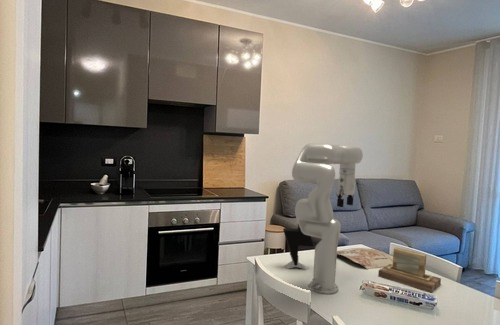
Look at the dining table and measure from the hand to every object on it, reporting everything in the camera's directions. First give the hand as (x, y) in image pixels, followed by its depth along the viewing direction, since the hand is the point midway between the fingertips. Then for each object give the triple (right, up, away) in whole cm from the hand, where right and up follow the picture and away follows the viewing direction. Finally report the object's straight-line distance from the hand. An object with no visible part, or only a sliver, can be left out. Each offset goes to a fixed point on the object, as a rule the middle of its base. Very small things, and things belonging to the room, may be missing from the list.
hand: (345, 205), depth 168 cm
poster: (+17, -34, +21) cm, 43 cm away
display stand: (+29, -35, -7) cm, 46 cm away
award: (-24, -32, +3) cm, 40 cm away
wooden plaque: (+29, -32, -7) cm, 44 cm away
